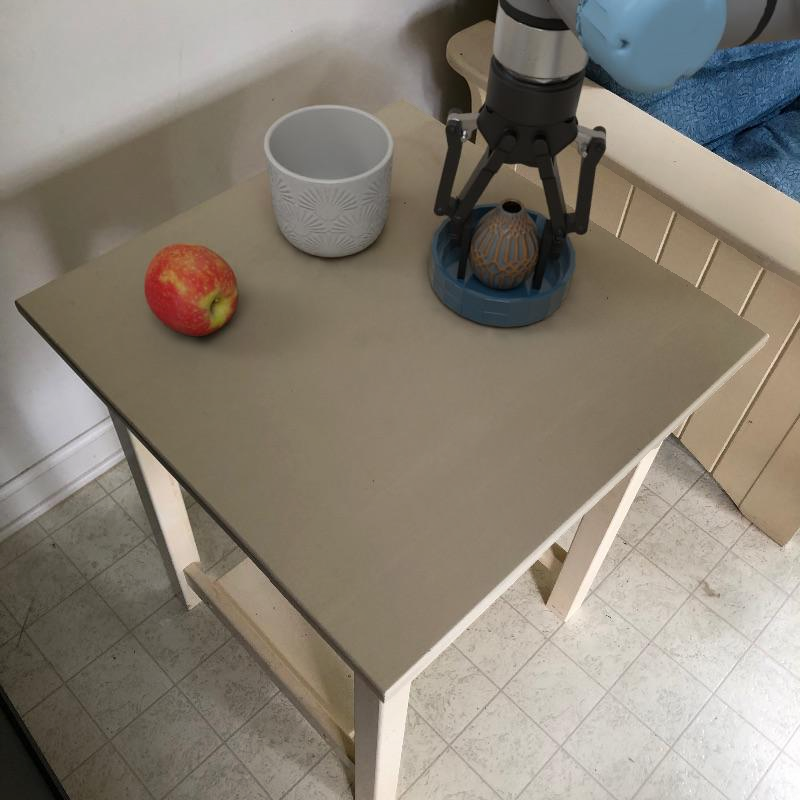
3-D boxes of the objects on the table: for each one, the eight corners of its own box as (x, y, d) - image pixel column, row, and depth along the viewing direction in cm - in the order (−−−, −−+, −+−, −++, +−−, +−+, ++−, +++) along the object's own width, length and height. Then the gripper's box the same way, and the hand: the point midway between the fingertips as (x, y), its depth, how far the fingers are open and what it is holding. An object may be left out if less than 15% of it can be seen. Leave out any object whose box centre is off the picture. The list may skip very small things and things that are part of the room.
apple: (193, 364, 75) (178, 303, 69) (135, 318, 78) (115, 256, 72) (257, 317, 79) (248, 255, 73) (199, 275, 82) (186, 212, 76)
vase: (506, 244, 86) (519, 174, 79) (547, 284, 82) (564, 215, 76) (451, 267, 83) (460, 197, 77) (492, 309, 80) (504, 240, 73)
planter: (409, 251, 86) (415, 163, 77) (297, 283, 82) (290, 195, 73) (363, 181, 92) (363, 93, 84) (257, 208, 89) (246, 119, 80)
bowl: (564, 340, 79) (573, 311, 76) (419, 319, 80) (422, 290, 77) (569, 243, 87) (577, 213, 84) (438, 225, 88) (441, 195, 85)
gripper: (664, 49, 66) (599, 262, 84) (421, 20, 68) (407, 236, 86) (668, 101, 62) (598, 314, 80) (407, 69, 63) (396, 286, 81)
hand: (499, 273), depth 83 cm, fingers closed on vase, 7 cm apart
